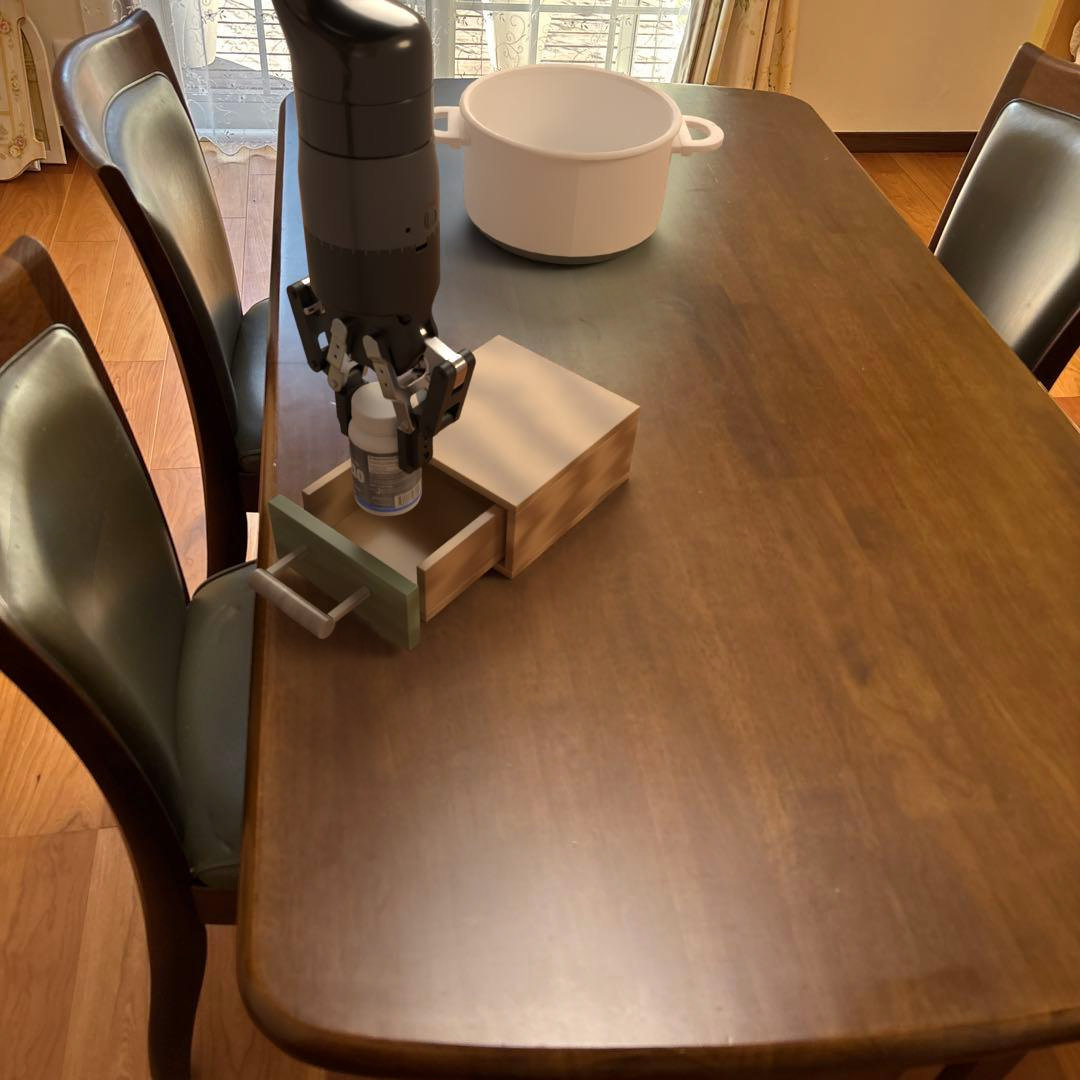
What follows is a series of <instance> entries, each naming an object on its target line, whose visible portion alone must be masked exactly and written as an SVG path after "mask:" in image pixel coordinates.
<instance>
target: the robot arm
mask: <svg viewBox="0 0 1080 1080" xmlns="http://www.w3.org/2000/svg"><path fill="white" fill-rule="evenodd" d="M271 4H272V6H273V7H272V8H273V10H274V12H275V14H276V15H275V16H276V18H277V21H278V23H279V26H280V29H281V32H282V35H283V37H284V39H285V44H286V47H287V50H288V53H289V59H290V67H291V79H292V88H293V96H294V97H293V98H294V107H295V114H296V117H295V118H296V126H297V136H298V139H297V140H298V150H297V177H298V178H297V181H298V189H299V198H300V207H301V209H300V210H301V217H302V225H303V235H304V244H305V253H306V262H307V271H308V275H307V276H305V277H303V278H301V279H299V280H297V281H296V282H293V283H291V284H289V285H287V287H286V289H285V291H286V295H287V299H288V302H289V305H290V308H291V309H290V310H291V313H292V315H293V318H294V323H295V325H296V329H297V332H298V335H299V339H300V342H301V346H302V348H303V352H304V354H305V359H306V363H307V365H308V366H309V368H310V369H311V371H312V372H314V373H320V372H323V373H324V374H325V375H326V377H327V378H326V380H327V384H328V386H329V387H330V389H331V390H332V391H333V392H334V401H335V409H336V418H337V420H338V424H339V429H340V433H341V434H342V435H343V436H344V437H347V438H348V439H349V436H348V428H349V423H350V421H351V419H352V405H351V400H352V396H353V394H354V393H355V392H356V390H357V389H359V388H360V387H362V386H364V385H366V384H369V383H370V382H369V381H368V380H367V379H365V378H364V377H366V376H367V374H368V371H369V369H370V370H371V371H372V372H374V373H375V375H376V377H377V382H379V384H380V388H381V391H382V394H383V397H384V398H385V399H386V400H391V401H392V404H393V407H394V410H395V414H396V417H397V420H398V423H399V427H398V428H397V439H398V460H399V469H401V470H402V471H404V472H406V473H407V474H411V473H413V472H414V471H416V470H418V469H419V468H420V467H422V466H423V465H425V464H426V463H427V462H429V461H430V460H431V459H432V457H433V437H434V436H436V435H437V434H438V433H439V432H440V431H442V430H443V429H444V428H446V427H447V426H449V425H450V424H453V423H454V422H456V421H457V420H459V418H460V415H461V412H462V408H463V405H464V402H465V398H466V395H467V392H468V388H469V385H470V381H471V378H472V375H473V371H474V368H475V365H476V359H475V356H474V355H473V353H472V352H473V351H471V350H470V349H469V348H462V349H461V350H459V351H457V352H455V351H454V350H453V349H451V347H449V346H448V345H447V344H445V342H443V341H442V340H441V339H440V338H439V329H438V326H437V324H436V321H435V318H434V315H433V305H434V301H435V299H436V296H437V293H438V292H439V291H438V290H439V288H440V285H441V193H440V189H441V188H440V184H441V183H440V168H439V166H440V165H439V160H438V159H439V158H438V153H437V146H436V143H435V134H434V129H435V120H434V107H435V85H434V84H435V83H434V82H435V81H434V80H435V68H434V67H435V65H434V62H435V59H434V47H433V46H434V44H433V37H432V33H431V30H430V27H429V25H428V23H427V22H426V20H425V19H424V17H423V16H422V15H421V14H420V13H419V12H417V11H416V10H415V9H413V8H411V7H410V6H409V5H407V4H405V3H403V2H401V1H399V0H271ZM323 333H324V335H325V339H326V342H327V345H325V346H324V347H321V345H320V342H319V341H320V340H319V337H320V335H321V334H323ZM409 371H410V373H408V374H407V375H405V374H406V373H407V372H409ZM403 375H404V376H403ZM402 376H403V377H402ZM398 377H402V378H400V379H398ZM413 394H416V397H417V401H418V405H417V406H415V407H414V408H412V405H411V402H410V398H411V396H412V395H413Z"/></svg>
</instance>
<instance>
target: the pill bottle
mask: <svg viewBox="0 0 1080 1080" xmlns="http://www.w3.org/2000/svg"><path fill="white" fill-rule="evenodd" d="M410 402H411V405H412V408H414V399H413V396H411V398H410ZM351 405H352V419H351V421H350V423H349V428H348V436H349V438H348V447H349V454H350V455H349V458H351V468H352V478H353V488H354V496H355V500H356V502H357V504H358V505H359V506H360V507H361V508H362V509H364V510H365V511H367V512H369V513H371V514H374V515H379V516H395V515H400V514H403V513H406V512H408V511H409V510H411V509H412V508H414V507H415V506H416V505H417V503H418V502H419V500H420V498H421V494H422V478H421V467H420V468H419V469H418V470H416V471H414V472H413V473H411V474H407V473H406V472H404V471H402V470H401V469H399V460H398V439H397V428H398V427H399V423H398V420H397V417H396V414H395V410H394V407H393V404H392V401H391V400H386V399H385V398H384V397H383V394H382V391H381V388H380V384H379V381H373V382H369V384H366V385H364V386H362V387H360V388H359V389H357V390H356V392H355V393H354V394H353V396H352V400H351Z"/></svg>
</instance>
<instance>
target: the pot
mask: <svg viewBox="0 0 1080 1080" xmlns="http://www.w3.org/2000/svg"><path fill="white" fill-rule="evenodd" d="M440 119H447V130H446V131H445V130H438V129H436V128H434V134H435V144H442V145H448V147H449V148H450V149H452V150H461V147H463V188H462V189H463V200H464V205H465V209H466V213H467V215H468V217H469V218H470V220H471V221H472V223H473V224H474V226H475V227H476V229H477V230H478V231H479V232H480V233H481V234H482V235H483V236H484V237H485V238H486V239H488V240H489V241H491V242H492V243H494V244H495V245H496V246H498V247H500V248H501V249H503V250H505V251H507V252H509V253H512V254H514V255H515V256H519V257H521V258H525V259H529V260H533V261H537V262H543V263H549V264H558V265H589V264H594V263H595V264H596V263H602V262H606V261H609V260H613V259H617V258H618V257H621V256H624V255H625V254H627V253H630V252H631V251H634V250H636V249H637V248H638V247H639V246H641V245H642V244H644V243H645V242H646V241H647V240H648V238H649V237H651V236H652V234H653V233H654V232H655V231H656V230H657V227H658V226H659V223H660V220H661V217H662V214H663V210H664V206H665V199H666V193H667V187H668V180H669V174H670V167H671V160H672V155H673V154H680V155H679V156H680V157H683V158H684V157H686V158H687V157H688V158H690V157H692V155H693V154H695V153H697V154H698V153H709V152H712V151H714V150H717V149H719V148H720V147H721V146H722V145H723V142H724V139H725V133H724V131H723V129H722V128H721V127H720V126H718V125H717V123H716V122H713V121H711V120H709V119H706V118H703V117H699V116H694V115H688V114H687V115H686V114H682V111H681V110H680V108H679V106H678V104H677V102H676V101H675V100H673V99H672V98H671V97H670V96H669V95H668V94H667V93H666V92H664V91H663V90H661V89H660V88H658V87H656V86H655V85H654V84H653V85H652V84H651V83H648V82H646V81H645V80H642V79H639V78H637V77H634V76H632V75H628V74H626V73H623V72H620V71H615V70H612V69H607V68H602V67H596V66H592V65H591V66H590V65H583V64H571V63H534V64H524V65H523V64H522V65H517V66H512V67H511V66H510V67H507V68H503V69H499V70H496V71H493V72H490V73H487V74H485V75H482V76H481V77H478V78H477V79H475V80H474V81H473V82H471V83H470V84H469V85H467V86H466V88H465V89H464V90H463V92H462V93H461V95H460V98H459V102H458V106H454V105H453V106H452V105H449V106H448V105H446V106H444V105H443V106H440V105H439V106H434V121H435V120H440ZM689 128H691V129H695V130H698V131H701V132H703V133H705V134H706V135H707V137H705V138H703V139H692V136H691V133H690V131H689Z"/></svg>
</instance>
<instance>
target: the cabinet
mask: <svg viewBox="0 0 1080 1080" xmlns="http://www.w3.org/2000/svg"><path fill="white" fill-rule="evenodd" d="M471 352H472V353H473V355H474V356H475V359H476V365H475V368H474V371H473V375H472V378H471V381H470V385H469V388H468V392H467V395H466V398H465V402H464V405H463V408H462V412H461V415H460V418H459V420H457V421H456V422H454V423H453V424H450V425H449V426H447V427H446V428H444V429H443V430H442V431H440V432H439V433H438V434H437V435H436V436H434V437H433V457H432V459H431V460H430V461H429V462H428V463H430V464H431V465H433V466H435V467H436V468H438V469H440V470H441V471H443V472H445V473H446V474H448V475H450V476H451V477H453V478H455V479H456V480H458V481H460V482H462V483H463V484H465V485H467V486H468V487H470V488H472V489H473V490H475V491H477V492H478V493H480V494H482V495H483V496H485V497H487V498H488V499H490V500H492V501H493V502H495V503H497V504H498V505H500V506H502V507H503V508H505V509H507V510H508V513H507V532H506V551H505V556H504V557H503V558H502V559H501V560H500V561H498V562H497V563H496V564H495V565H494V566H492V567H491V569H493V570H494V571H497V572H498V573H500V574H502V575H503V576H504V577H507V578H508V579H510V580H511V581H513V580H514V579H515V578H516V577H517V576H519V574H521V573H522V572H523V571H525V569H526V568H527V567H529V566H530V565H531V564H532V563H533V562H534V561H536V560H537V559H538V558H539V557H540V556H541V555H542V554H543V553H545V552H546V551H547V550H548V549H550V547H551V546H553V544H555V543H556V542H558V540H559V539H560V538H562V537H563V536H564V535H565V534H566V533H567V532H568V531H570V530H571V529H572V528H574V526H575V525H577V524H578V523H579V522H580V521H582V519H584V518H585V517H586V516H587V515H588V514H590V513H591V511H593V510H594V509H595V508H596V507H597V506H598V505H600V504H601V503H602V502H603V501H604V500H605V499H606V498H608V497H609V496H610V495H611V494H612V493H614V492H615V491H616V490H617V489H618V488H619V487H621V486H622V484H624V483H625V482H626V481H627V480H628V479H629V478H630V473H631V467H632V466H631V465H632V460H633V459H632V458H633V453H634V448H635V447H634V446H635V442H636V434H637V429H638V423H639V416H640V411H641V405H638V404H636V403H635V402H633V401H630V400H628V399H627V398H625V397H623V396H620V395H619V394H617V393H615V392H614V391H611V390H609V389H607V388H605V387H603V386H601V385H599V384H597V383H595V382H593V381H591V380H589V379H588V378H586V377H583V376H581V375H579V374H578V373H576V372H574V371H572V370H570V369H568V368H566V367H564V366H562V365H560V364H559V363H556V362H554V361H552V360H551V359H548V358H546V357H545V356H542V355H540V354H538V353H536V352H534V351H533V350H531V349H528V348H526V347H525V346H522V345H521V344H519V343H517V342H515V341H513V340H511V339H509V338H507V337H505V336H503V335H501V334H498V335H496V336H494V337H492V338H491V339H489V340H487V341H486V342H485V343H483V344H482V345H480V346H479V347H477V348H476V349H474V350H472V351H471ZM412 396H413V399H414V407H415V406H417V405H418V401H417V397H416V394H413V395H412Z"/></svg>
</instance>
